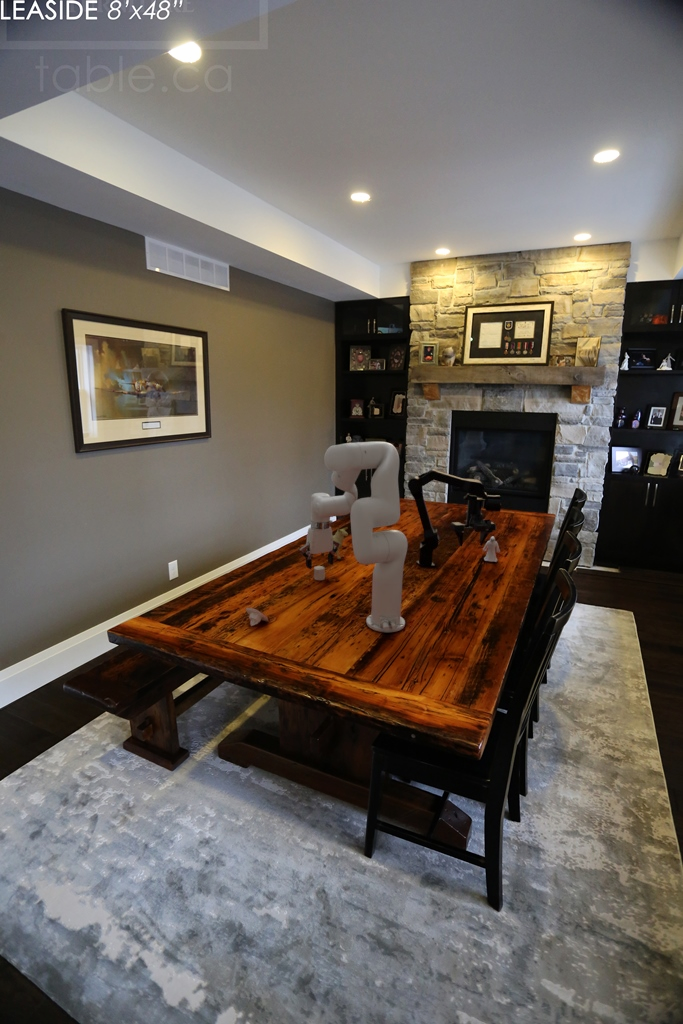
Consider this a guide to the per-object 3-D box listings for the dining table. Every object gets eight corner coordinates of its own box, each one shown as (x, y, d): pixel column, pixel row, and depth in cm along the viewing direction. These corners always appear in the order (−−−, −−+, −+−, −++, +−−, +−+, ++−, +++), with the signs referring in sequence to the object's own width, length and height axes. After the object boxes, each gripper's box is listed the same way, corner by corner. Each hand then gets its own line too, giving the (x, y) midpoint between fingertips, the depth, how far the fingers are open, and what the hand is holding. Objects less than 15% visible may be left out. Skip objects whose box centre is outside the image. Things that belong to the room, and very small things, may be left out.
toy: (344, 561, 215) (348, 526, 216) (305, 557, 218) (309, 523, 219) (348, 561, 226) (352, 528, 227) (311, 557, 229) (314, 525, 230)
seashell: (251, 634, 162) (235, 615, 161) (262, 623, 165) (246, 604, 164) (262, 630, 156) (245, 610, 155) (273, 618, 159) (257, 599, 158)
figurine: (481, 562, 222) (483, 536, 219) (482, 556, 230) (484, 531, 227) (499, 564, 220) (501, 538, 217) (499, 558, 228) (501, 533, 225)
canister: (322, 575, 203) (322, 565, 202) (326, 579, 199) (326, 569, 198) (312, 577, 201) (312, 566, 200) (316, 581, 198) (316, 570, 196)
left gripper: (334, 519, 202) (333, 559, 207) (296, 524, 194) (296, 566, 198) (344, 524, 196) (343, 565, 200) (304, 529, 187) (304, 572, 192)
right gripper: (461, 515, 200) (458, 552, 204) (504, 514, 204) (500, 550, 207) (450, 509, 210) (447, 544, 214) (491, 508, 214) (487, 542, 218)
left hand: (319, 565), depth 199 cm, fingers open, 9 cm apart
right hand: (471, 545), depth 213 cm, fingers open, 9 cm apart
